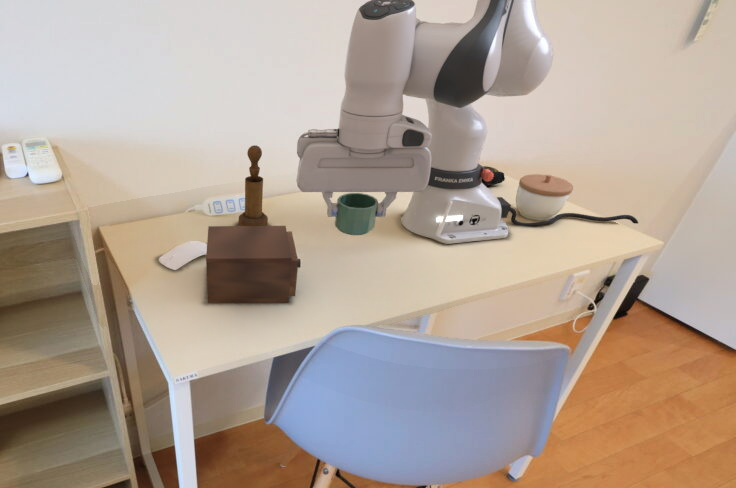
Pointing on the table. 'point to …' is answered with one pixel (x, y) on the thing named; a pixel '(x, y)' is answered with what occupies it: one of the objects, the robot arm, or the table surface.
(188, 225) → the table surface
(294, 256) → the drawer
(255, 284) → the cabinet
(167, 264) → the white curved flat piece
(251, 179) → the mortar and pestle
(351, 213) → the cylindrical container
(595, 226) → the table surface
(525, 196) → the trinket box
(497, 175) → the tape measure
